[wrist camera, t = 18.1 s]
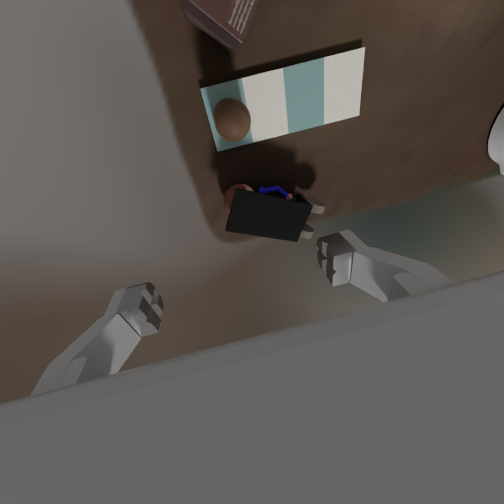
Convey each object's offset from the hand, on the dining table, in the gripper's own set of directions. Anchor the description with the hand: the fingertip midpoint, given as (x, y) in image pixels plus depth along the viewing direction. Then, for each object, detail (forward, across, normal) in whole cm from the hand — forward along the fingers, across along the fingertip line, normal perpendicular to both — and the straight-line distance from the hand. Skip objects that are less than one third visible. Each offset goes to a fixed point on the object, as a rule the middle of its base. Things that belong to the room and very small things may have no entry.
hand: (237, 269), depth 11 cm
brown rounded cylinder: (+24, +3, +4) cm, 25 cm away
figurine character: (+25, +6, -9) cm, 28 cm away
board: (+25, +10, +4) cm, 27 cm away
